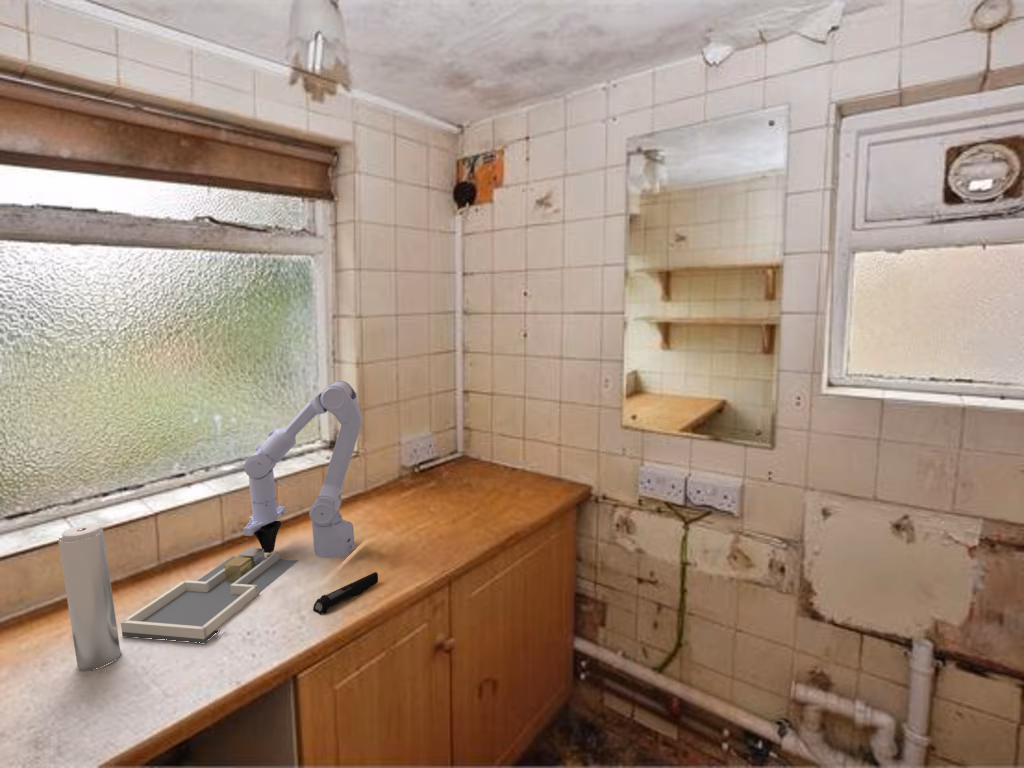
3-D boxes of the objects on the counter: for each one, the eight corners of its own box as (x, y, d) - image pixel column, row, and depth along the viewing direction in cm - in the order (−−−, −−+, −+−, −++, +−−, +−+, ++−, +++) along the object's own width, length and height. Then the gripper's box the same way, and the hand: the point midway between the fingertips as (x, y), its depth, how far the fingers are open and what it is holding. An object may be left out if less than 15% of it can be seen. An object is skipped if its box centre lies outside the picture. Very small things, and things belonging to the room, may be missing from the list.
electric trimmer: (382, 586, 128) (382, 573, 128) (322, 617, 116) (321, 602, 116) (372, 582, 131) (371, 569, 130) (312, 611, 119) (310, 596, 118)
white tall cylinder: (92, 650, 107) (73, 523, 103) (128, 647, 107) (111, 521, 104) (68, 672, 100) (47, 537, 97) (107, 669, 101) (87, 535, 97)
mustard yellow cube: (252, 574, 133) (250, 557, 133) (241, 582, 129) (239, 565, 129) (237, 573, 134) (235, 557, 133) (225, 581, 130) (224, 564, 129)
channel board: (298, 564, 140) (297, 552, 139) (204, 643, 108) (202, 629, 107) (233, 560, 143) (231, 548, 143) (122, 636, 111) (120, 622, 111)
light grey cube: (265, 564, 138) (263, 548, 137) (255, 572, 134) (253, 556, 134) (250, 563, 139) (248, 547, 138) (239, 571, 135) (238, 555, 134)
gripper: (266, 489, 149) (271, 538, 151) (229, 509, 134) (235, 563, 136) (291, 490, 147) (295, 540, 149) (256, 510, 133) (262, 565, 135)
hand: (268, 551), depth 143 cm, fingers closed
